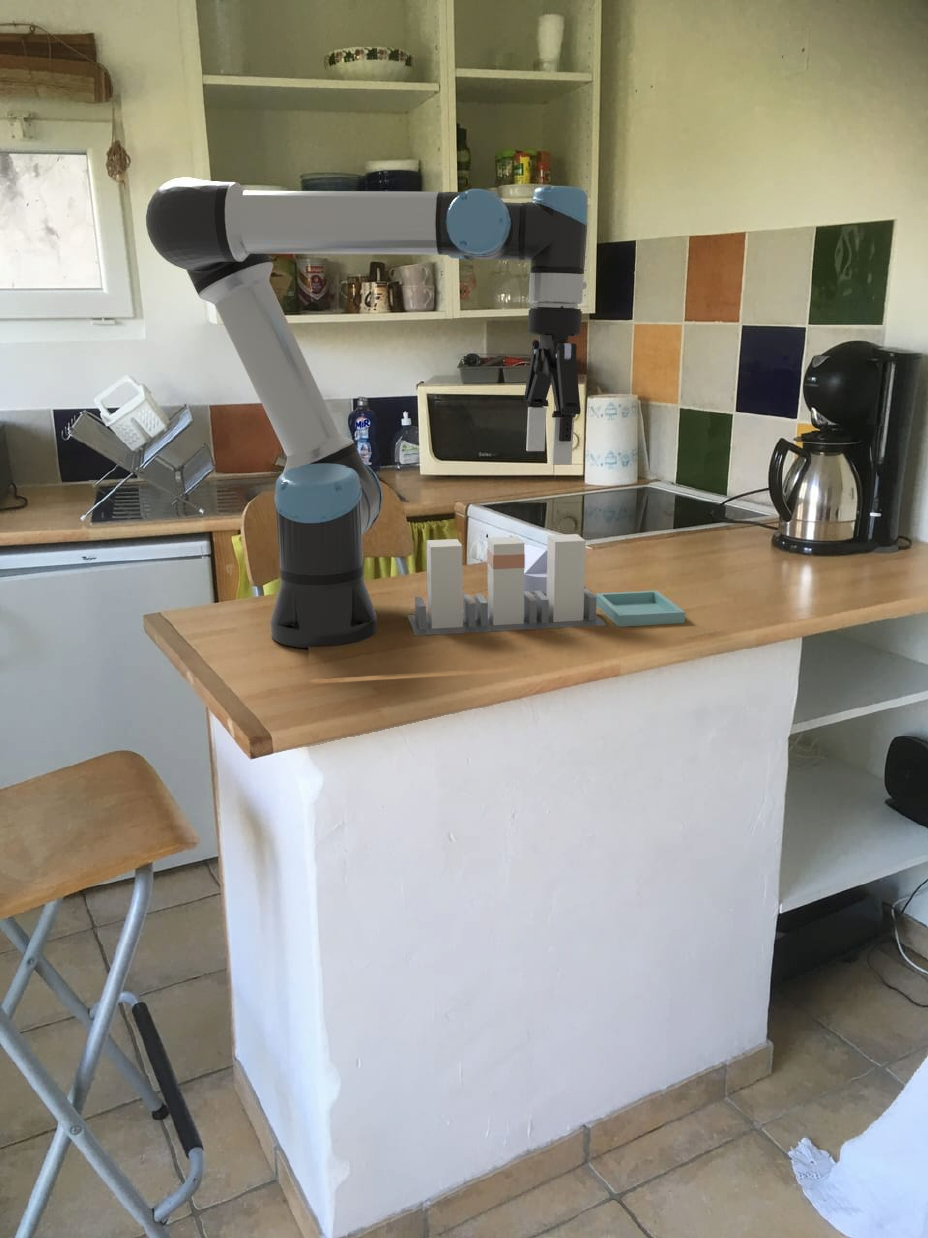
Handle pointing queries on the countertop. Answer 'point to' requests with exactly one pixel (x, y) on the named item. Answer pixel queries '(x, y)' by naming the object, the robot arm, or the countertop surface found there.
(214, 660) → the countertop surface
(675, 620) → the tray
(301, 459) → the robot arm
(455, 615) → the block
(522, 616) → the block
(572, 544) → the block
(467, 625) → the holder
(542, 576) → the wedge on round base
